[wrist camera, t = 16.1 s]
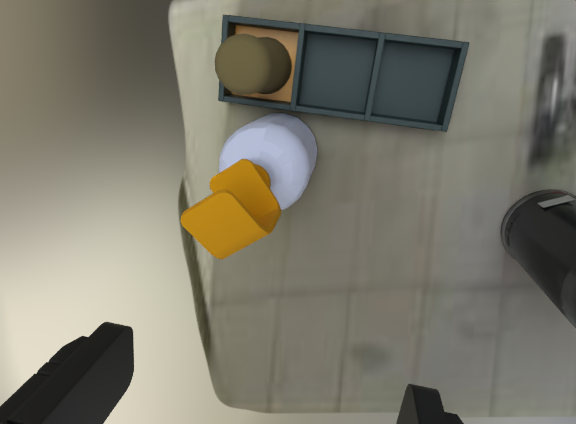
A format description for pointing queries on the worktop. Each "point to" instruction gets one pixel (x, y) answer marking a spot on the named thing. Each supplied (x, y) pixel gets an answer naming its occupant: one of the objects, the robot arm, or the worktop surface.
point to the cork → (252, 64)
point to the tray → (358, 73)
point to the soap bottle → (253, 183)
